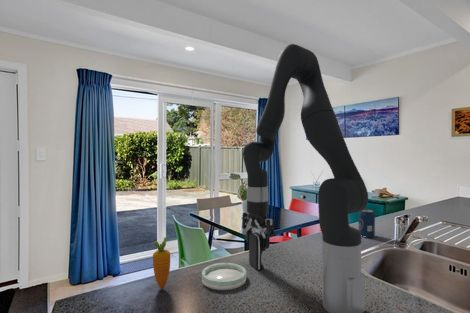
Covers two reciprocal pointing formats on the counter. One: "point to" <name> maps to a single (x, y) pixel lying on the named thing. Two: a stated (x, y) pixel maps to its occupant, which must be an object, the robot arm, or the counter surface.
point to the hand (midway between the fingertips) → (257, 245)
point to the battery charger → (256, 250)
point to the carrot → (161, 263)
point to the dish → (224, 276)
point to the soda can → (367, 223)
